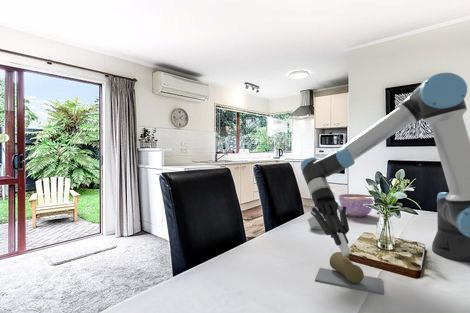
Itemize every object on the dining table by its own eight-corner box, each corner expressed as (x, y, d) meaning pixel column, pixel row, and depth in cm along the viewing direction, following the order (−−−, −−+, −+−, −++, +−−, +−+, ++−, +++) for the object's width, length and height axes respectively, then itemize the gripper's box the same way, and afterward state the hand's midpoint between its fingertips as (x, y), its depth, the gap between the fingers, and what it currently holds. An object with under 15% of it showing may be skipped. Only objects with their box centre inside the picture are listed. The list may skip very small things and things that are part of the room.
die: (326, 228, 134) (317, 212, 139) (330, 224, 127) (320, 206, 131) (312, 235, 133) (303, 218, 138) (315, 231, 126) (305, 213, 130)
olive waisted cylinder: (331, 272, 85) (349, 289, 74) (328, 254, 85) (345, 268, 74) (348, 267, 86) (368, 284, 75) (345, 250, 85) (365, 264, 75)
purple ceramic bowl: (375, 213, 162) (375, 195, 162) (373, 221, 145) (373, 200, 145) (341, 210, 172) (341, 193, 172) (335, 217, 155) (335, 197, 155)
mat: (381, 279, 78) (381, 278, 78) (383, 294, 70) (383, 293, 70) (319, 268, 86) (319, 267, 86) (314, 280, 78) (314, 279, 78)
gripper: (333, 198, 100) (361, 258, 84) (301, 199, 98) (323, 261, 82) (341, 185, 95) (371, 247, 78) (307, 187, 93) (331, 250, 77)
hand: (347, 254), depth 80 cm, fingers closed
